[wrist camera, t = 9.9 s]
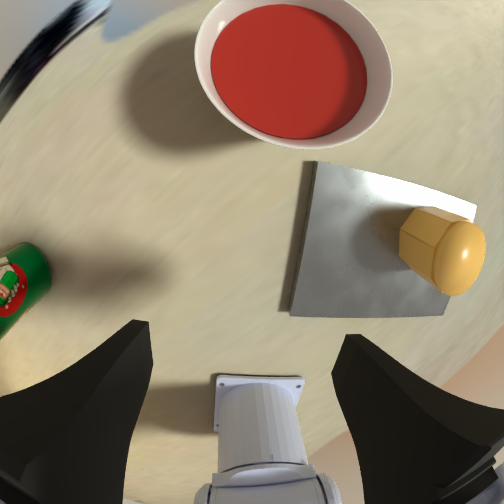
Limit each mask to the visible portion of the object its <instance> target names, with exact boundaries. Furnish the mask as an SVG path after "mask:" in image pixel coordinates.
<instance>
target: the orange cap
mask: <svg viewBox="0 0 504 504" xmlns="http://www.w3.org/2000/svg"><path fill="white" fill-rule="evenodd" d="M485 252H486V242H485V237H484V234H483V232H482V230H481V229H480V227H478V226H477V225H475V224H472V222H471V220H470V219H468V218H465V217H462V216H460V215H457V214H454V213H452V212H449V211H446V210H444V209H441V208H438V207H435V206H430V207H420V208H415V209H414V210H413V212H412V213H411V214H410V216H409V217H408V219H407V220H406V221H405V223H404V224H403V225H402V227H401V228H400V235H399V257H400V258H401V259H402V260H403V261H404V262H405V263H406V264H407V265H408V266H409V267H410V268H411V270H413V271H414V272H415V273H417V274H418V275H419V276H421V277H422V278H423V279H425V280H426V281H427V282H429V283H430V284H431V285H432V286H434V287H435V288H436V289H437V290H439V291H440V292H441V293H445V294H447V295H449V296H456V295H459V294H461V293H463V292H465V291H466V290H467V289H468V288H469V287H470V286H471V285H472V284H473V283H474V281H475V280H476V278H477V277H478V275H479V273H480V270H481V268H482V265H483V262H484V258H485Z"/></svg>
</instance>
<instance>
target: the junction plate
mask: <svg viewBox="0 0 504 504" xmlns="http://www.w3.org/2000/svg"><path fill="white" fill-rule="evenodd" d="M430 206H435V207H438V208H441V209H444V210H446V211H449V212H452V213H454V214H457V215H460V216H462V217H465V218H468V219H470V220H471V222H472V224H473V220H474V216H475V211H476V205H474V204H471V203H469V202H466V201H463V200H461V199H458V198H455V197H452V196H449V195H446V194H443V193H440V192H437V191H434V190H431V189H428V188H425V187H422V186H419V185H415V184H412V183H408V182H405V181H401V180H398V179H394V178H390V177H387V176H383V175H379V174H375V173H371V172H367V171H363V170H358V169H354V168H349V167H345V166H340V165H335V164H330V163H325V162H320V161H314V168H313V175H312V182H311V188H310V195H309V201H308V207H307V213H306V219H305V225H304V231H303V236H302V242H301V248H300V253H299V258H298V264H297V269H296V274H295V279H294V284H293V289H292V294H291V299H290V303H289V308H288V312H289V315H290V316H298V317H331V318H390V317H421V316H440V315H443V314H444V311H445V309H446V306H447V304H448V301H449V299H450V296H449V295H447V294H445V293H441V292H440V291H439V290H437V289H436V288H435V287H434V286H432V285H431V284H430V283H429V282H427V281H426V280H425V279H423V278H422V277H421V276H419V275H418V274H417V273H415V272H414V271H413V270H411V268H410V267H409V266H408V265H407V264H406V263H405V262H404V261H403V260H402V259H401V258H400V257H399V235H400V228H401V227H402V225H403V224H404V223H405V221H406V220H407V219H408V217H409V216H410V214H411V213H412V212H413V210H414V209H415V208H420V207H430Z"/></svg>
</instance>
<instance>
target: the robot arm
mask: <svg viewBox="0 0 504 504" xmlns="http://www.w3.org/2000/svg"><path fill="white" fill-rule="evenodd" d="M152 367H153V358H152V350H151V341H150V331H149V322H147V321H140V320H134V319H132V320H131V321H130V322H129V323H127V324H126V325H125V326H124V327H122V328H121V329H120V330H119V331H117V332H116V333H115V334H114V335H112V336H111V337H110V338H109V339H107V340H106V341H105V342H104V343H102V344H101V345H100V346H98V347H97V348H96V349H94V350H93V351H92V352H90V353H89V354H87V355H86V356H84V357H83V358H82V359H80V360H79V361H77V362H76V363H74V364H73V365H71V366H70V367H68V368H66V369H65V370H63V371H61V372H60V373H58V374H56V375H54V376H52V377H50V378H48V379H46V380H44V381H42V382H40V383H37V384H35V385H33V386H31V387H28V388H26V389H23V390H21V391H18V392H15V393H12V394H9V395H5V396H2V397H0V504H122V500H123V488H124V478H125V470H126V463H127V457H128V451H129V446H130V441H131V437H132V434H133V431H134V428H135V424H136V421H137V419H138V416H139V413H140V410H141V407H142V404H143V401H144V398H145V395H146V392H147V389H148V386H149V382H150V377H151V372H152ZM331 374H332V379H333V384H334V388H335V392H336V396H337V399H338V401H339V404H340V407H341V409H342V412H343V414H344V417H345V420H346V422H347V425H348V427H349V430H350V433H351V435H352V438H353V441H354V444H355V447H356V451H357V456H358V460H359V465H360V470H361V477H362V483H363V490H364V500H365V504H504V462H503V463H502V464H501V465H500V466H498V467H497V468H496V469H495V470H494V469H493V467H492V466H493V465H494V464H495V463H496V460H495V458H494V455H495V454H496V453H497V452H498V451H499V450H500V449H501V448H502V447H503V446H504V410H503V409H497V408H491V407H487V406H483V405H479V404H476V403H473V402H470V401H467V400H464V399H462V398H459V397H457V396H455V395H452V394H450V393H448V392H446V391H444V390H442V389H440V388H438V387H436V386H435V385H433V384H431V383H429V382H427V381H426V380H424V379H422V378H421V377H419V376H418V375H416V374H415V373H413V372H412V371H410V370H409V369H407V368H406V367H405V366H403V365H402V364H400V363H399V362H398V361H396V360H395V359H394V358H392V357H391V356H390V355H388V354H387V353H386V352H384V351H383V350H382V349H380V348H379V347H378V346H376V345H375V344H374V343H372V342H371V341H370V340H368V339H367V338H365V337H364V336H362V335H361V334H346V336H345V339H344V342H343V344H342V347H341V350H340V352H339V355H338V357H337V360H336V363H335V365H334V368H333V370H332V372H331ZM221 383H223V384H221ZM304 384H305V380H304V378H303V377H253V376H233V375H218V376H217V378H216V393H215V412H214V431H215V432H218V473H213V474H212V483H207V484H204V485H203V486H202V488H200V489H199V490H198V491H197V493H196V495H195V499H194V504H342V500H341V497H340V493H339V490H338V488H337V485H336V483H335V482H334V480H333V479H332V478H331V477H329V476H327V475H326V474H325V473H317V474H316V473H315V469H314V465H313V464H308V461H307V456H306V452H305V448H304V443H303V439H302V434H301V430H300V426H299V422H298V417H297V413H296V409H295V408H296V405H297V402H298V400H299V397H300V395H301V392H302V389H303V386H304ZM297 385H298V386H297Z"/></svg>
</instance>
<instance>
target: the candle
mask: <svg viewBox="0 0 504 504" xmlns="http://www.w3.org/2000/svg"><path fill="white" fill-rule="evenodd" d="M194 59H195V67H196V72H197V75H198V78H199V81H200V83H201V86H202V88H203V90H204V92H205V93H206V95H207V97H208V98H209V99H210V101H211V102H212V104H213V105H214V106H215V107H216V108H217V110H218V111H219V112H220V113H221V114H222V115H223V116H224V117H225V118H227V119H228V120H229V121H230V122H231V123H233V124H234V125H235V126H237V127H238V128H240V129H241V130H243V131H245V132H246V133H248V134H250V135H252V136H254V137H256V138H258V139H260V140H263V141H265V142H268V143H271V144H274V145H278V146H282V147H287V148H293V149H303V150H316V149H326V148H331V147H336V146H339V145H342V144H345V143H348V142H350V141H352V140H354V139H356V138H358V137H359V136H361V135H363V134H364V133H365V132H367V131H368V130H369V129H370V128H371V127H372V126H373V125H374V124H375V123H376V122H377V121H378V120H379V118H380V117H381V116H382V114H383V112H384V111H385V109H386V107H387V104H388V102H389V99H390V95H391V91H392V83H393V72H392V64H391V60H390V56H389V53H388V50H387V47H386V45H385V43H384V41H383V39H382V37H381V35H380V34H379V32H378V31H377V29H376V28H375V26H374V25H373V24H372V23H371V21H370V20H369V19H368V18H367V17H366V16H365V15H364V14H363V13H362V12H361V11H360V10H359V9H358V8H356V7H355V6H354V5H352V4H351V3H350V2H348V1H347V0H221V1H220V2H219V3H218V4H217V5H216V6H214V8H213V9H212V10H211V11H210V12H209V13H208V15H207V16H206V17H205V19H204V21H203V22H202V24H201V26H200V29H199V31H198V34H197V37H196V42H195V49H194Z"/></svg>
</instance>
